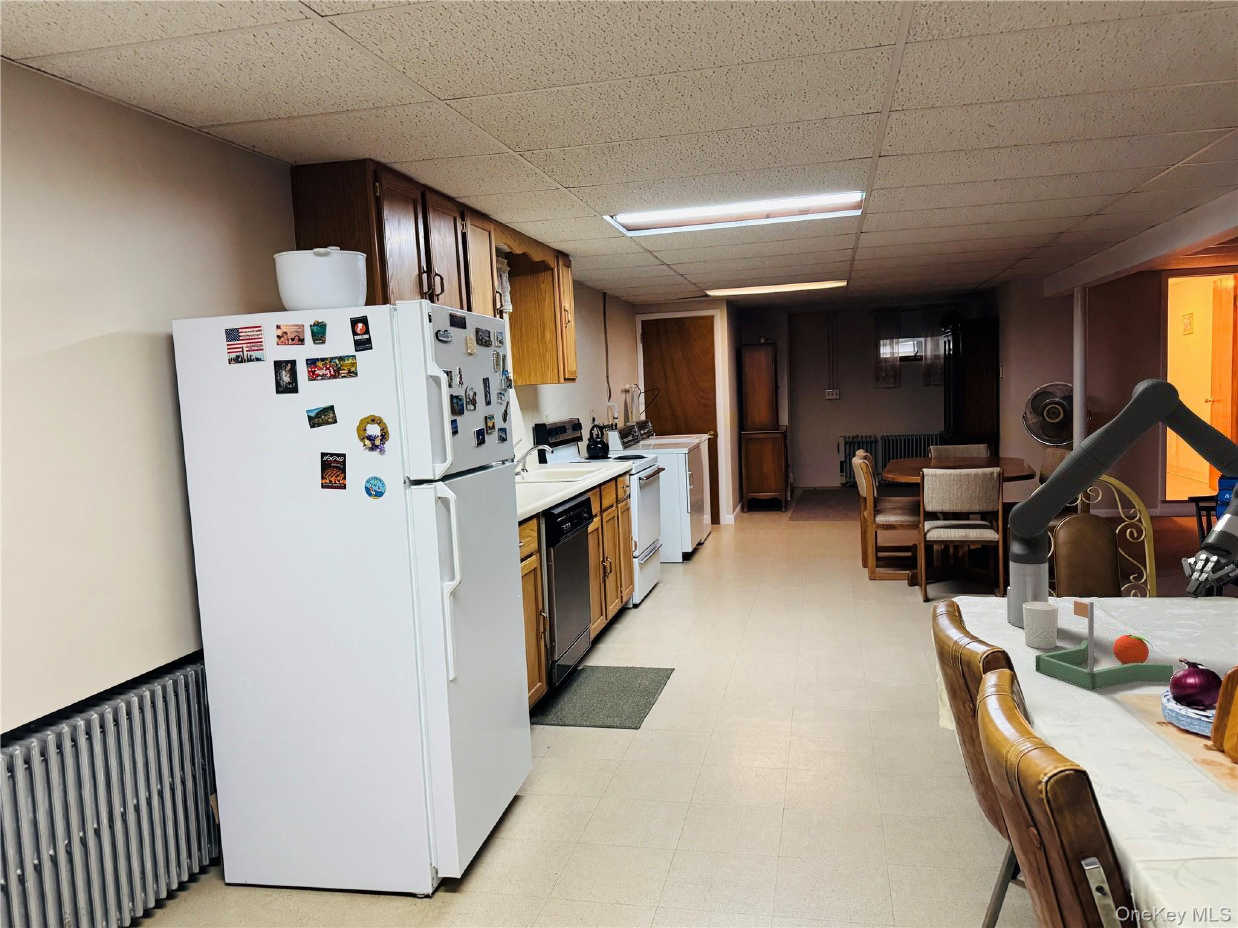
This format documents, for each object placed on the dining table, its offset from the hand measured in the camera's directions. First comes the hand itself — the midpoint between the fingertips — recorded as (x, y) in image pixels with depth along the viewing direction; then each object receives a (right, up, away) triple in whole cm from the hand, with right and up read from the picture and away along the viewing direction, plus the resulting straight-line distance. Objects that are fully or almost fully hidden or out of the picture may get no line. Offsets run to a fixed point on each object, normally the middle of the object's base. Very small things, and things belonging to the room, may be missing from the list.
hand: (1191, 595), depth 195 cm
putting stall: (-28, -16, -9) cm, 33 cm away
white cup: (-29, -14, +12) cm, 35 cm away
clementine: (-17, -15, -5) cm, 23 cm away
